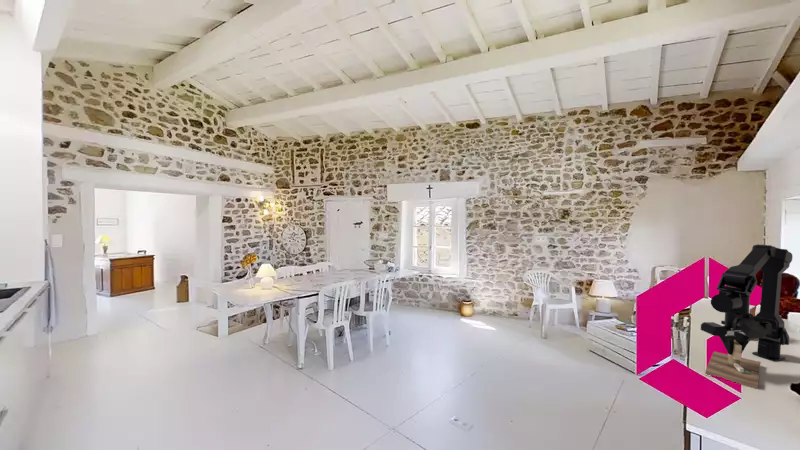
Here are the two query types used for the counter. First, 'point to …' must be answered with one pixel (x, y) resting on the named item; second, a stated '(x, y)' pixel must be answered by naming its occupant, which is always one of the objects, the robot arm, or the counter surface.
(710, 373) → the board
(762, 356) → the robot arm
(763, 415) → the counter surface
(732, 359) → the beige wooden angled piece
